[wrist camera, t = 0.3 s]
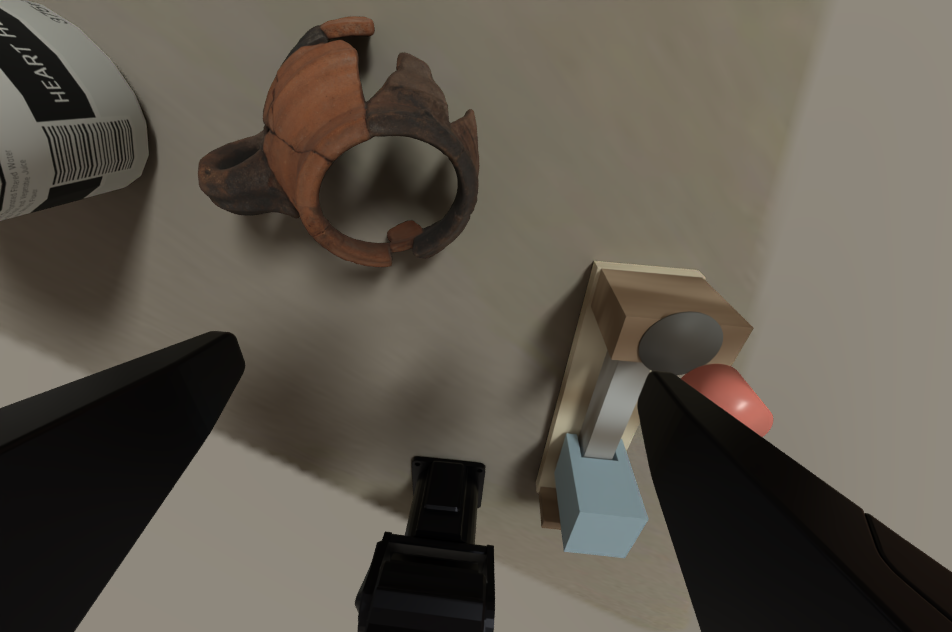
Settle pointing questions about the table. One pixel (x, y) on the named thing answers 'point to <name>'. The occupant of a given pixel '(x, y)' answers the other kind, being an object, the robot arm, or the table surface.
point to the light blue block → (597, 502)
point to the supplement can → (61, 114)
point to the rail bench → (632, 356)
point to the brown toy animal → (341, 143)
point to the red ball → (731, 395)
